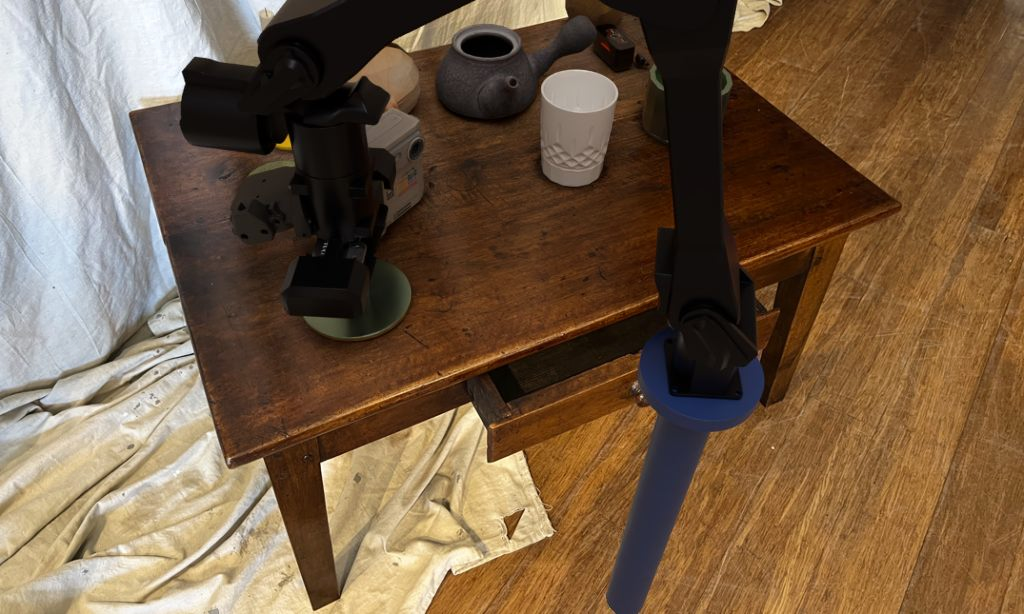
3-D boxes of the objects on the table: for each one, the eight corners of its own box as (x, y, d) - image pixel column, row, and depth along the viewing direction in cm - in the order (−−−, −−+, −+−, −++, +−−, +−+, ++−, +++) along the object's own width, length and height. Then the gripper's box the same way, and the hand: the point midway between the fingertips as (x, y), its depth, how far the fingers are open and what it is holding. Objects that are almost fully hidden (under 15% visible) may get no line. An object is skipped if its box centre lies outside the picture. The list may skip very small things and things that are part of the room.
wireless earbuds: (618, 76, 101) (622, 53, 99) (590, 49, 105) (593, 27, 103) (649, 69, 102) (653, 46, 100) (620, 42, 107) (624, 20, 104)
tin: (723, 150, 91) (737, 101, 87) (644, 146, 92) (653, 97, 87) (714, 105, 98) (726, 57, 93) (639, 101, 98) (647, 53, 93)
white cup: (531, 148, 91) (536, 70, 83) (599, 145, 91) (610, 68, 84) (541, 192, 85) (546, 113, 78) (612, 189, 86) (625, 110, 79)
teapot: (459, 150, 90) (457, 71, 83) (424, 78, 100) (420, 2, 92) (611, 122, 95) (622, 45, 87) (563, 56, 104) (570, -18, 97)
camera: (359, 257, 78) (347, 176, 70) (318, 232, 80) (302, 151, 73) (436, 199, 84) (432, 119, 77) (396, 177, 86) (388, 97, 79)
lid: (403, 349, 70) (399, 310, 66) (289, 342, 70) (278, 303, 67) (418, 267, 77) (415, 228, 73) (314, 262, 77) (305, 222, 73)
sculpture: (394, 16, 94) (423, 49, 82) (416, 90, 99) (445, 132, 87) (318, 40, 92) (336, 77, 81) (345, 114, 98) (365, 159, 86)
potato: (606, -41, 110) (553, -25, 111) (623, -37, 99) (563, -19, 100) (619, 18, 114) (567, 34, 114) (636, 28, 103) (578, 46, 103)
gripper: (260, 84, 68) (292, 222, 79) (189, 232, 55) (239, 369, 67) (390, 91, 68) (403, 228, 79) (348, 241, 55) (371, 377, 67)
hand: (355, 294), depth 73 cm, fingers closed on lid, 2 cm apart
